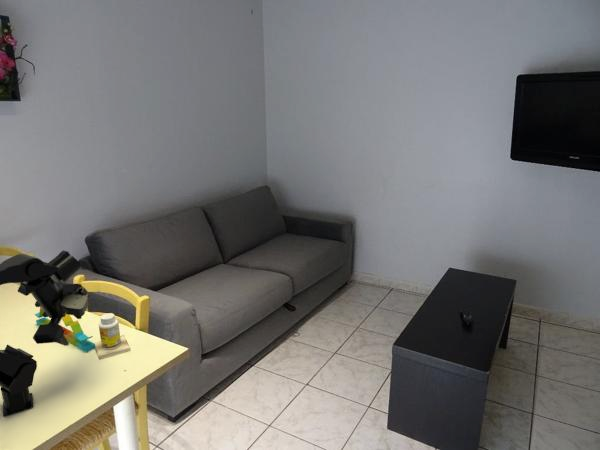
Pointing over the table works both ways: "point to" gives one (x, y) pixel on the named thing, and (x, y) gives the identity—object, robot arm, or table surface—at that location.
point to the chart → (70, 332)
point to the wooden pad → (110, 352)
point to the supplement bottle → (109, 331)
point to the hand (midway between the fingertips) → (73, 331)
